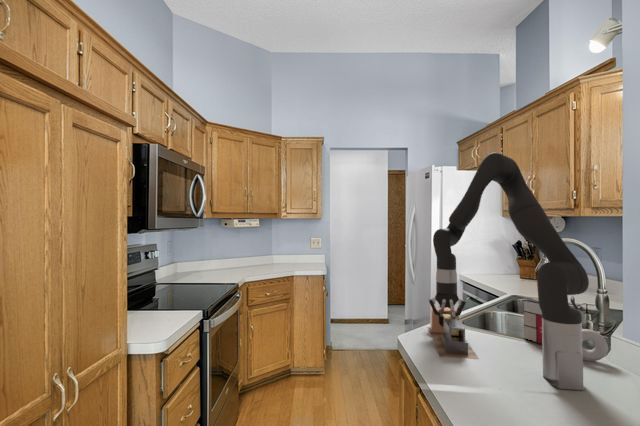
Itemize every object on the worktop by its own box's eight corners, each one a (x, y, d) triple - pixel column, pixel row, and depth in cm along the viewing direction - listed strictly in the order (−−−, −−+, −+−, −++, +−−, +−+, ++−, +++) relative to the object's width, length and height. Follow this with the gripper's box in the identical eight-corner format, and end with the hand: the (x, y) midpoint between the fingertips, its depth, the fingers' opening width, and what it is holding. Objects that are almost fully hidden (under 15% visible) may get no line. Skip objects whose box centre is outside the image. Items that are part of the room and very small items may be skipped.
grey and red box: (522, 339, 138) (521, 299, 138) (530, 337, 139) (529, 298, 140) (551, 348, 128) (550, 305, 128) (559, 346, 129) (558, 304, 130)
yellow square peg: (458, 335, 124) (458, 326, 124) (449, 335, 124) (449, 326, 124) (448, 319, 144) (448, 312, 144) (440, 319, 144) (440, 311, 144)
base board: (479, 362, 115) (479, 358, 115) (439, 360, 117) (439, 356, 117) (458, 331, 147) (458, 328, 147) (427, 330, 149) (427, 327, 149)
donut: (569, 359, 118) (569, 328, 118) (569, 355, 121) (569, 325, 121) (609, 365, 112) (608, 333, 112) (607, 362, 115) (607, 330, 115)
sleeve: (468, 355, 118) (468, 328, 118) (446, 353, 119) (446, 327, 119) (461, 342, 130) (460, 319, 130) (440, 341, 131) (440, 318, 131)
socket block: (458, 333, 141) (458, 311, 141) (432, 332, 143) (431, 310, 143) (456, 329, 146) (456, 308, 146) (430, 328, 147) (430, 307, 148)
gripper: (428, 281, 136) (429, 328, 136) (468, 282, 134) (468, 330, 133) (426, 278, 144) (426, 322, 143) (463, 279, 141) (464, 324, 141)
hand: (447, 326), depth 138 cm, fingers closed on yellow square peg, 3 cm apart
